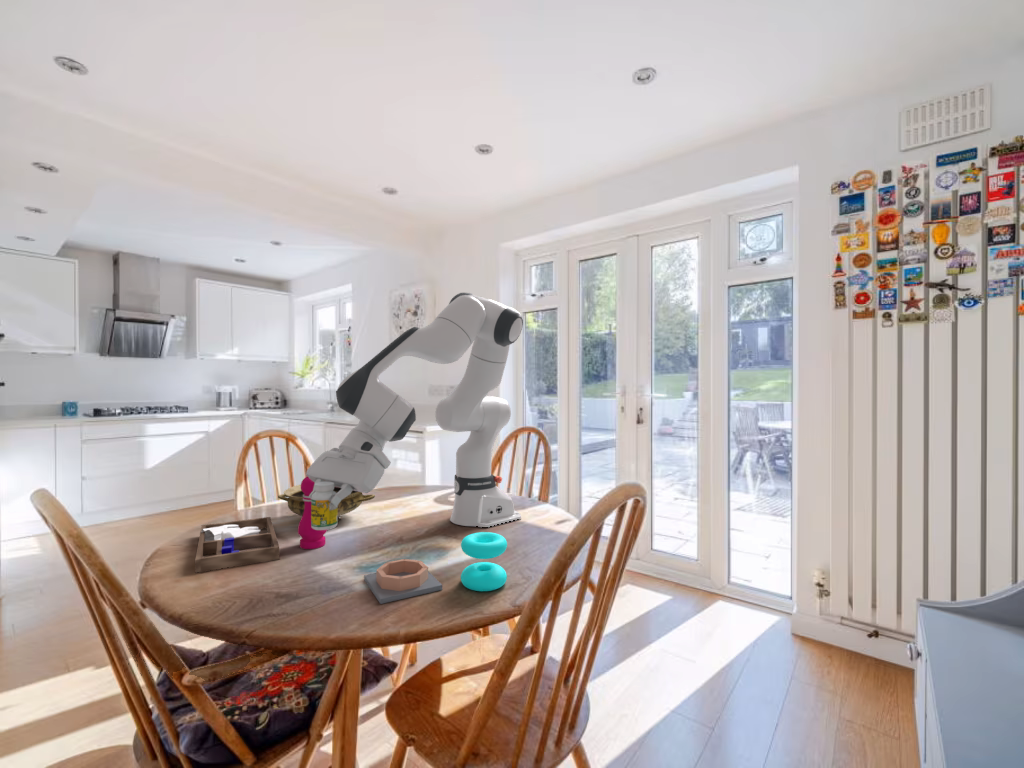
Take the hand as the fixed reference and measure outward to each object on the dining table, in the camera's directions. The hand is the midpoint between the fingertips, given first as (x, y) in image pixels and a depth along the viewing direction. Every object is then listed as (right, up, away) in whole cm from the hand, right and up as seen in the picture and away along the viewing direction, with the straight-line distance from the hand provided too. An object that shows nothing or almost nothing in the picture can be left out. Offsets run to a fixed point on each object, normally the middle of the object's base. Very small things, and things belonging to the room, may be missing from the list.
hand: (322, 501), depth 104 cm
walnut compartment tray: (-30, -17, +20) cm, 39 cm away
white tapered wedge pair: (-33, -17, +24) cm, 44 cm away
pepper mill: (-11, -17, +22) cm, 30 cm away
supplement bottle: (0, -6, +1) cm, 6 cm away
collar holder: (+18, -17, -2) cm, 25 cm away
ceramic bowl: (-16, -17, +44) cm, 50 cm away
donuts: (+35, -18, -1) cm, 40 cm away
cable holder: (-27, -17, +12) cm, 34 cm away
